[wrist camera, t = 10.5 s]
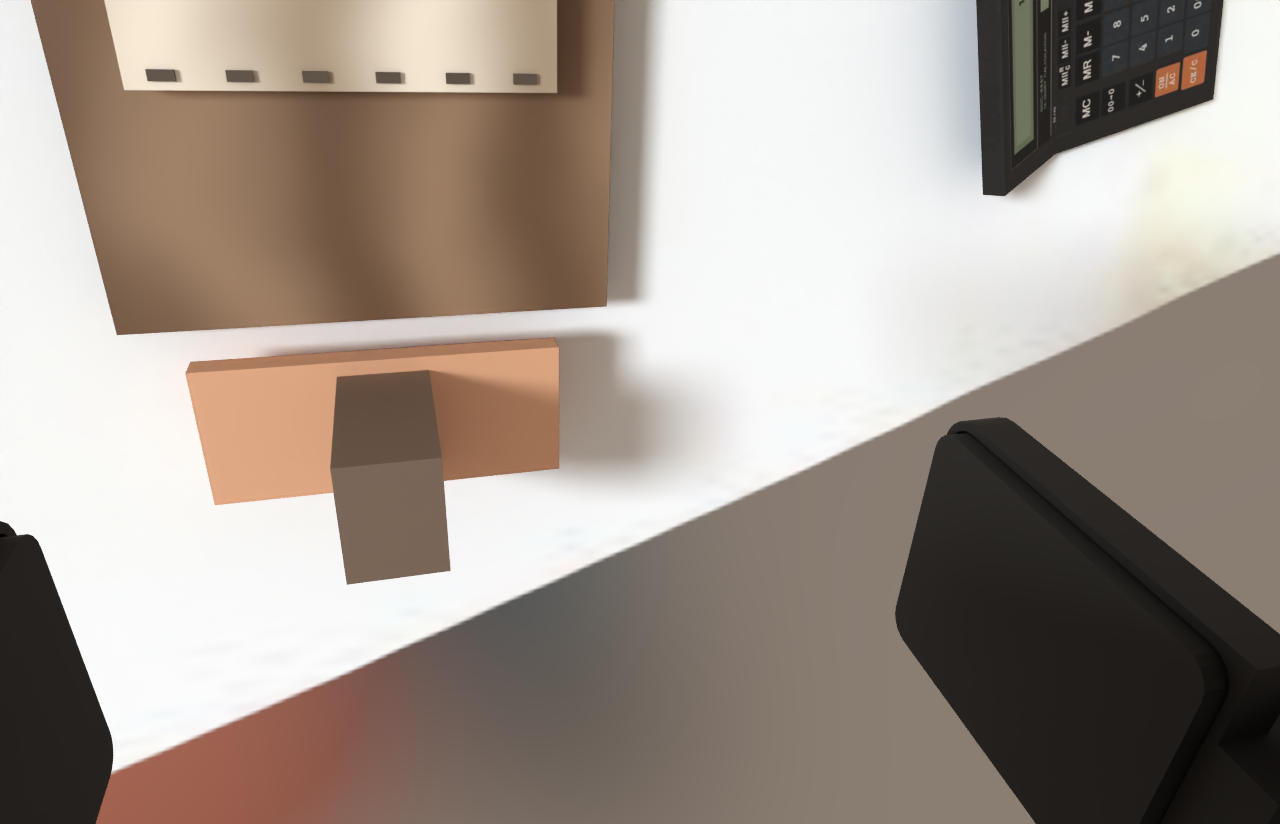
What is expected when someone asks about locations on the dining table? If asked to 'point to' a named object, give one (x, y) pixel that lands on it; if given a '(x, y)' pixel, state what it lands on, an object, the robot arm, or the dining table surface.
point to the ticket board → (337, 155)
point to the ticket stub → (378, 436)
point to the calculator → (1084, 74)
